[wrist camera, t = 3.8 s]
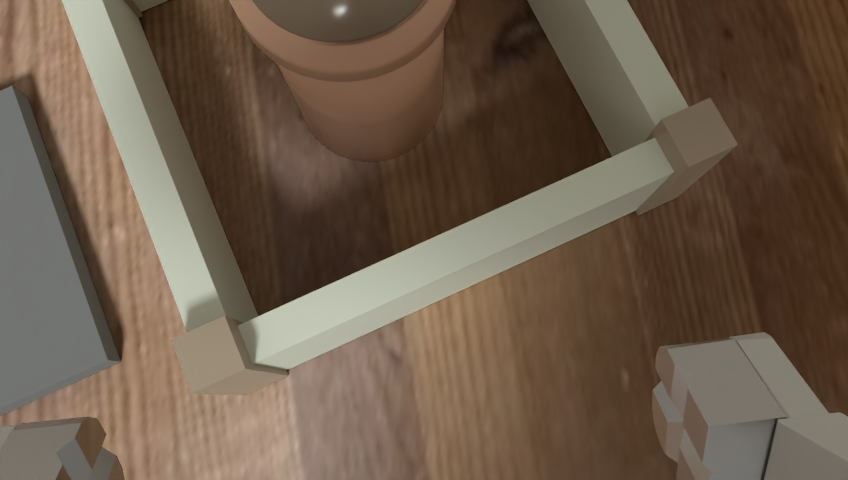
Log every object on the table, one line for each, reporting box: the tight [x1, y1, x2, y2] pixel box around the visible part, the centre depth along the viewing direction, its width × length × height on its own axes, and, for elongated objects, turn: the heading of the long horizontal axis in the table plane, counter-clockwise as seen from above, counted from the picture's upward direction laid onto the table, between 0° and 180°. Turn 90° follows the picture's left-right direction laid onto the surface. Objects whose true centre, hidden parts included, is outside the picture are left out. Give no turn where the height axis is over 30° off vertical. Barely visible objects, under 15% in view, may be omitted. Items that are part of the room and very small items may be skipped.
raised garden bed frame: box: [62, 0, 738, 395], centre depth 24 cm, size 17×17×6 cm
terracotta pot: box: [229, 0, 456, 162], centre depth 23 cm, size 6×6×9 cm
